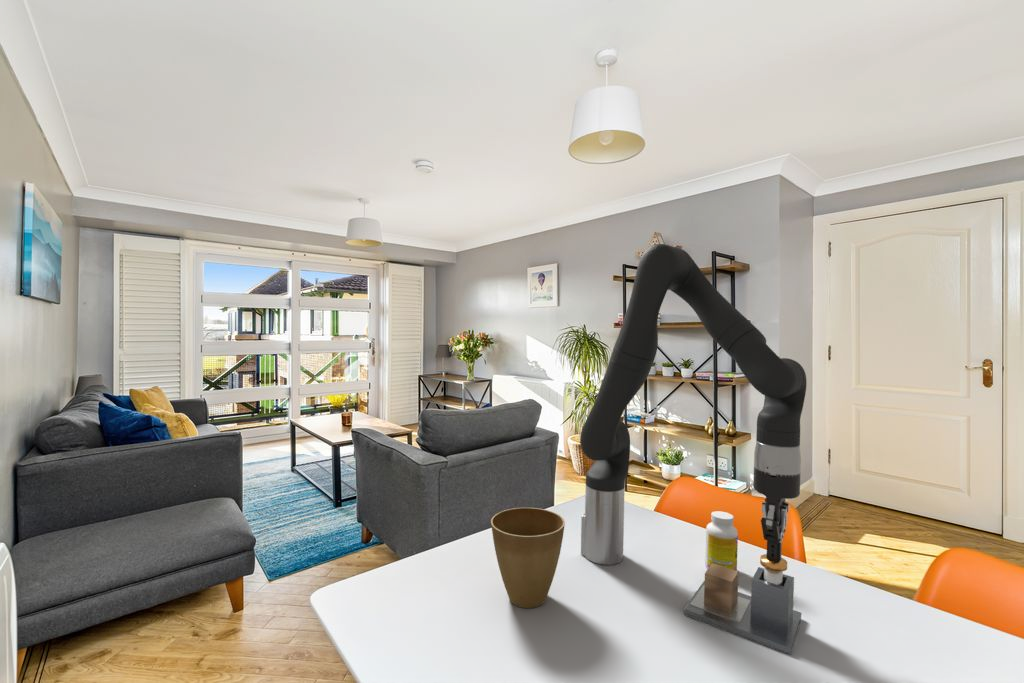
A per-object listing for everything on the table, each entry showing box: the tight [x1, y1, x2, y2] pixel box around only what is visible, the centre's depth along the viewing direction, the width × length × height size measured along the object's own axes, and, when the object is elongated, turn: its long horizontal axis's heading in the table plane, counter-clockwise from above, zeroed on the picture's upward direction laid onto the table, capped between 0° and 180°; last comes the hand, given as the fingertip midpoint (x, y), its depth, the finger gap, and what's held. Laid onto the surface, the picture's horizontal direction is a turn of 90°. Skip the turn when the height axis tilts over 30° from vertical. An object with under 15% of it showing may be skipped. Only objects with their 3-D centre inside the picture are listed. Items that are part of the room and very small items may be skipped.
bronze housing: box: [704, 564, 739, 613], centre depth 95 cm, size 5×5×6 cm
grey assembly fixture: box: [683, 566, 802, 656], centre depth 92 cm, size 18×13×9 cm
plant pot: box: [490, 507, 566, 609], centre depth 97 cm, size 15×15×16 cm
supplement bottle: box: [704, 510, 739, 571], centre depth 110 cm, size 7×7×13 cm
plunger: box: [759, 553, 788, 586], centre depth 89 cm, size 4×4×11 cm
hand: (773, 559), depth 89 cm, fingers closed
